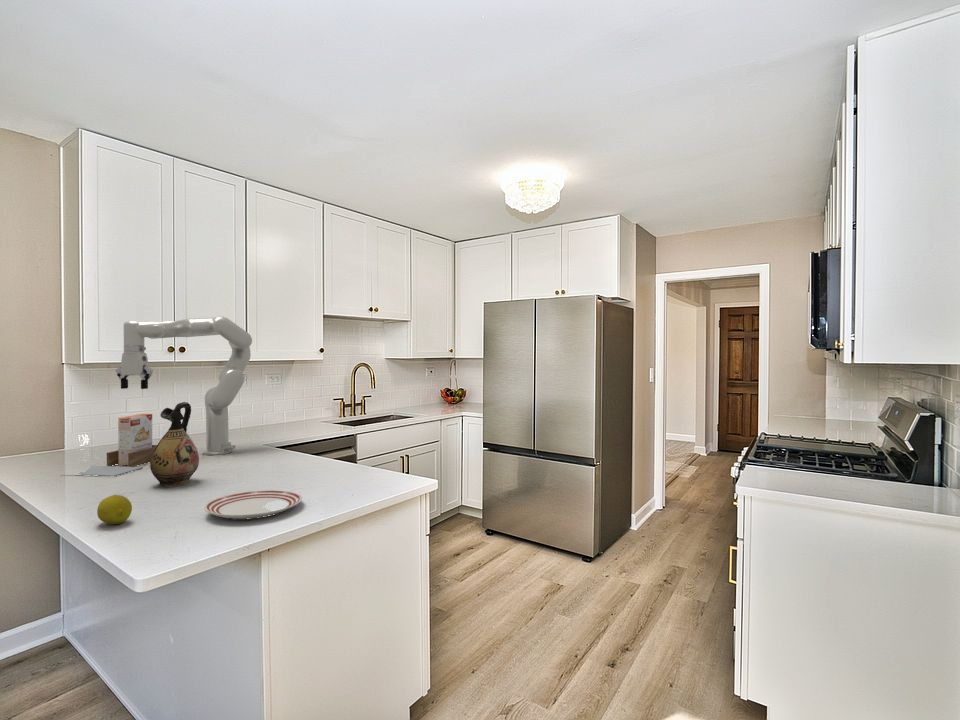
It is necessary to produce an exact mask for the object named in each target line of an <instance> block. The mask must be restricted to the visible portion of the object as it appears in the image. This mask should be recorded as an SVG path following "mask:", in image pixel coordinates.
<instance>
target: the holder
mask: <svg viewBox="0 0 960 720" xmlns="http://www.w3.org/2000/svg"><path fill="white" fill-rule="evenodd" d="M157 445H158V444H152V448H148V449H144V450H140V451H136V452H132V453H128V466H127V467H134V466H135V467H138V466H137V465H139V466H142V465H145V464H144V463H146V464H149V463H148V462H151V458H152V454H153V452H154V450H155V448H156V446H157ZM115 464H119V463H118V450H113V451H109V452H106V466H112V465H115ZM141 464H142V465H141ZM115 466H116V465H115Z"/></svg>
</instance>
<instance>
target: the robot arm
mask: <svg viewBox="0 0 960 720" xmlns="http://www.w3.org/2000/svg"><path fill="white" fill-rule="evenodd" d="M207 336H208V337H209V336H221V337H222V338H224V339H225V340H227V341H228V345H229V346H230V347H231V355H230V357H229V359H228V361H227V362H226V363H225V365H224V367H223V368H222V370H221V371H220V372H219V375H218V381H219V382H218V384H217V386H213V387H211V388H209V389H208V390H207V391H206V393H205V395H204V406H205V430H206V431H205V437H206V440H205V441H206V449H204V450H203V451H202V454H203V455H205V456H206V455H207V456H217V455H225V454H230V453H232V452H233V450H235V449H236V446H237V445H234V444H231V443H232V442H229V440H230V439H229V433H230V432H229V409H228V408H229V406H230V405H231V404H232V403H233V402H234V400H235V398H236V397H237V395H238V393H239V392H240V390H241V389H242V387H243V385H244V383H245V378H246V377H245V374H244V371H245V370H246V368H247V367H248V364H249V362H250V359H251V348H250V346H251V345H252V344H253V337H252V336H251V334H250V333H249V332H247V331H246V330H245V329H244V328H242V327H240V326H239V325H237V324H236V323H235V322H234V321H232V320H230V319H229V318H227V317H225V316H217V317H215V316H214V317H198V318H197V317H196V318H185V319H180V320H173V321H172V320H171V321H159V322H158V321H134V320H133V321H131V320H129V321H125V322H124V323H123V352H122V355H121V361H120V366H119V367H117V368H116V369H115V372H116V375H117V377H118V379H119V380H120V389H122V390H125V389H128V388H129V379H128V378H129V376H139V377H140V389H141V390H147V389H149V380H150V379H151V377H152V374H153V372H154V369H153V368H150V367H149V359H148V355H147V353H146V352H145V350H147V347H145V338H147V339H152V340H154V339H167V338H194V337H207Z"/></svg>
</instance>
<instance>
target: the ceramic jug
mask: <svg viewBox="0 0 960 720" xmlns="http://www.w3.org/2000/svg"><path fill="white" fill-rule="evenodd" d="M182 409H184V414H183V413H182V412H181V411H182ZM191 413H192V406H191V404H190V403H189V402H186V401H182V402H179V403H177V404H176V405H175V406H174V408H173V409H172V408H169V407H166V408H164V409H163V410H161V411H160V417H161V419H164V420H166V421H169V422H171V424H170V427H169V428H168V430H167V431H166V433H164V435H163V436H162V438H161V439H160V440H159V442H158V443H157V444H156V445H157V446H156V448H155V450H154V452H153V454H152V458H151V462H150V463H149V464H150V465H149V466H150V468H149V469H150V471H151V474H152V475H153V477H154V478H155V479H156V480H157V481H158V483H159V486H160V487H162V486H163V487H162V488H164V487H170V486H172V487H178V485H180V486H182V484H183V485H186V484H188V483H189V481H190V480H191V477H192V476H193V475H194V474H195V472H196V471H197V470H198V468H199V464H200V457H199V456H200V455H199V451H198V448H197V446H196V445H195V443H194V441H193V440H192V438H191V437H190V435H189V434H188V432H187V431H188V424H189V421H190V418H191ZM185 483H186V484H185Z"/></svg>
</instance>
